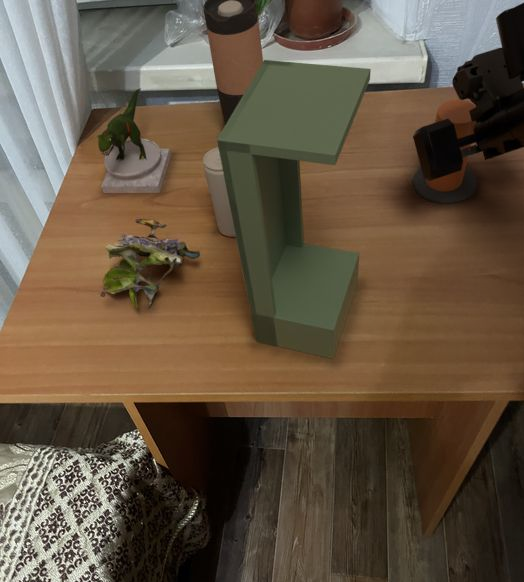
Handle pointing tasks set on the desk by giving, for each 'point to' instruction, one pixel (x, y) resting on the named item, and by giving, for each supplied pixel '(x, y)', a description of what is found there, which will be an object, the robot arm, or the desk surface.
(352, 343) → the desk surface
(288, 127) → the green c-shaped stand
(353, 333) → the desk surface
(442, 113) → the tea tin
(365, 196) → the desk surface
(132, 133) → the dinosaur figurine
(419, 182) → the coaster
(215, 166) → the beverage can
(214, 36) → the travel mug
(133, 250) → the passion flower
